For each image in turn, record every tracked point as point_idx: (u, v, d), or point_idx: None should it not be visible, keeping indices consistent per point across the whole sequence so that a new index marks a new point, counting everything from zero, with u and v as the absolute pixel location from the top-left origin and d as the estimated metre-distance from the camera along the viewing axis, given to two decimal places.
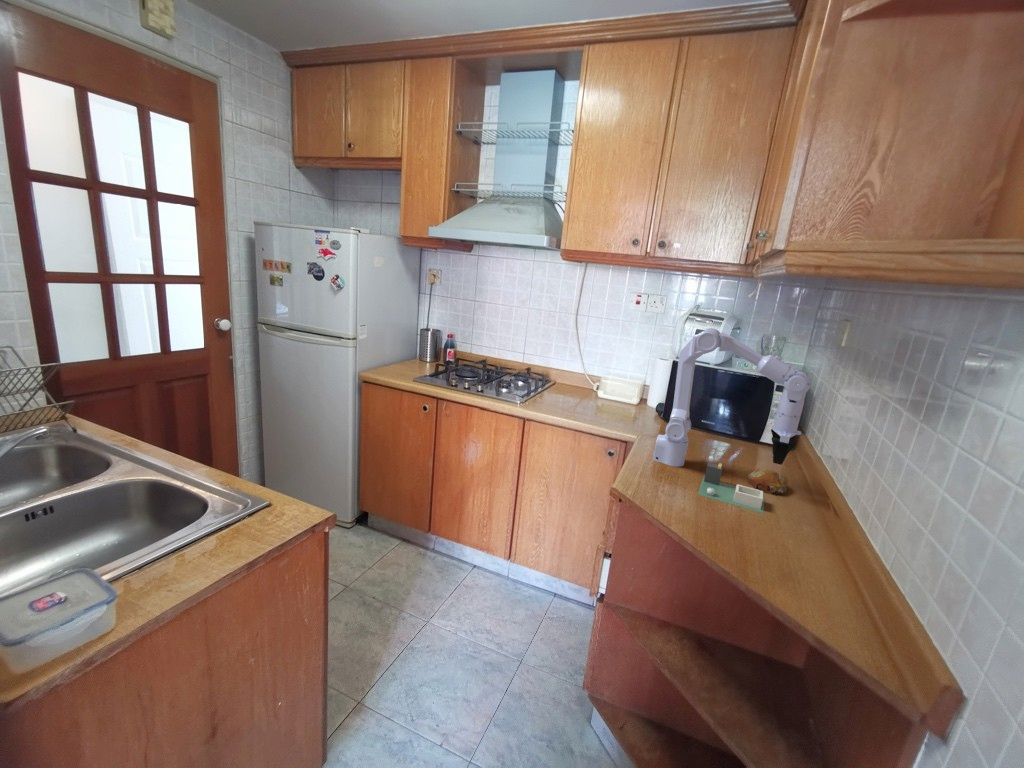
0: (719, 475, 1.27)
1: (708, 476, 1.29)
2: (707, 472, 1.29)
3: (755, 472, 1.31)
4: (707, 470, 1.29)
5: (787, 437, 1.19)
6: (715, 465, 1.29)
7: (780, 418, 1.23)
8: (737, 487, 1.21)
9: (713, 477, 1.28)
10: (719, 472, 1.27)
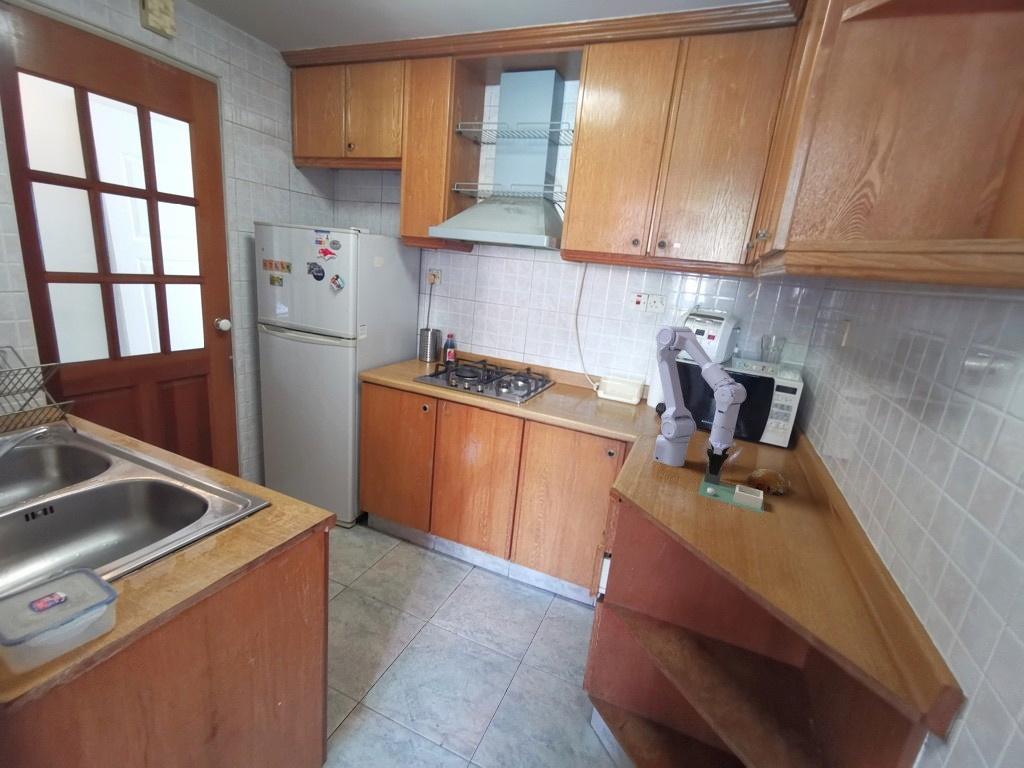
0: (719, 475, 1.27)
1: (708, 476, 1.29)
2: (707, 472, 1.29)
3: (756, 472, 1.30)
4: (707, 470, 1.29)
5: (720, 449, 1.21)
6: None
7: (715, 430, 1.25)
8: (737, 487, 1.21)
9: (713, 477, 1.28)
10: (719, 472, 1.27)
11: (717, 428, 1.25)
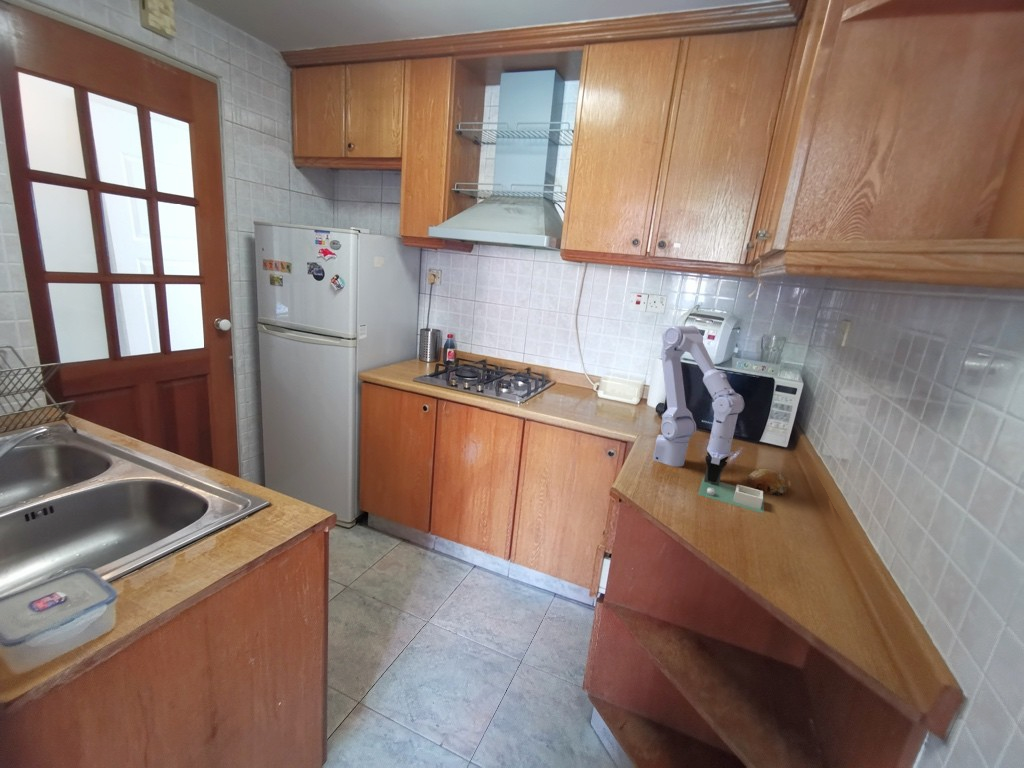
0: (719, 475, 1.27)
1: None
2: (707, 472, 1.29)
3: (756, 473, 1.30)
4: (707, 470, 1.29)
5: (717, 459, 1.21)
6: None
7: (713, 439, 1.26)
8: (737, 487, 1.21)
9: None
10: None
11: (715, 438, 1.25)
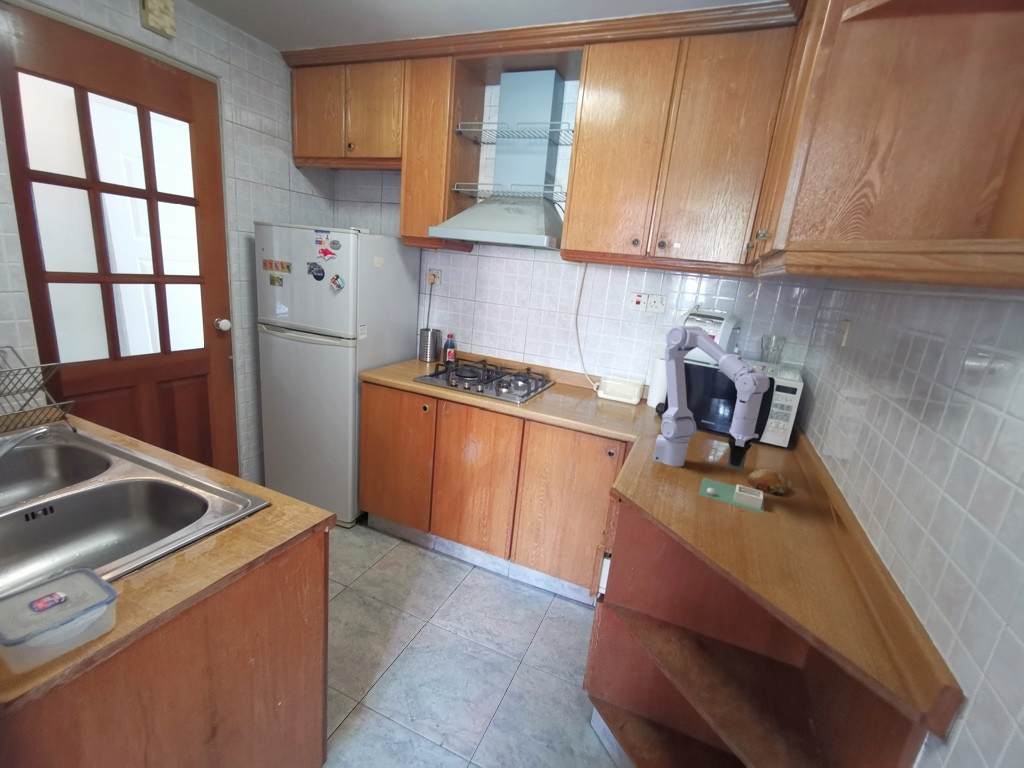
0: (743, 460, 1.20)
1: None
2: None
3: (756, 473, 1.30)
4: None
5: (742, 440, 1.14)
6: None
7: (736, 421, 1.19)
8: (737, 487, 1.21)
9: None
10: (743, 457, 1.20)
11: (738, 419, 1.18)
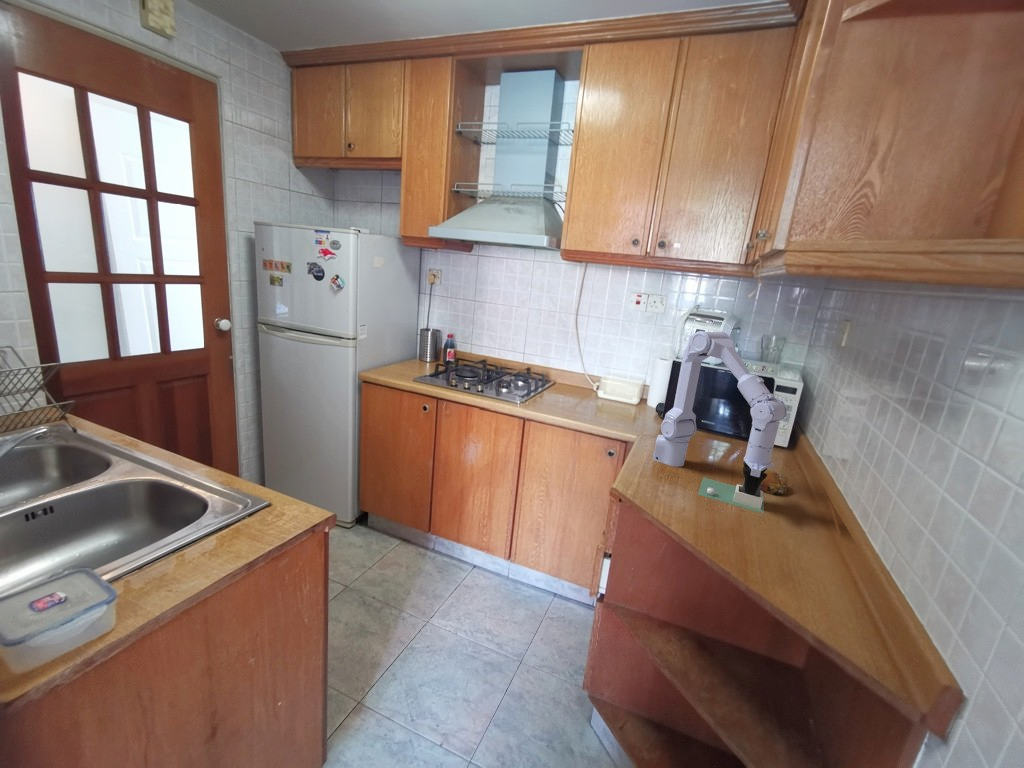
0: (758, 490, 1.17)
1: None
2: None
3: None
4: (744, 484, 1.18)
5: (758, 471, 1.11)
6: None
7: (751, 449, 1.15)
8: (737, 487, 1.21)
9: None
10: (758, 487, 1.17)
11: (754, 447, 1.14)
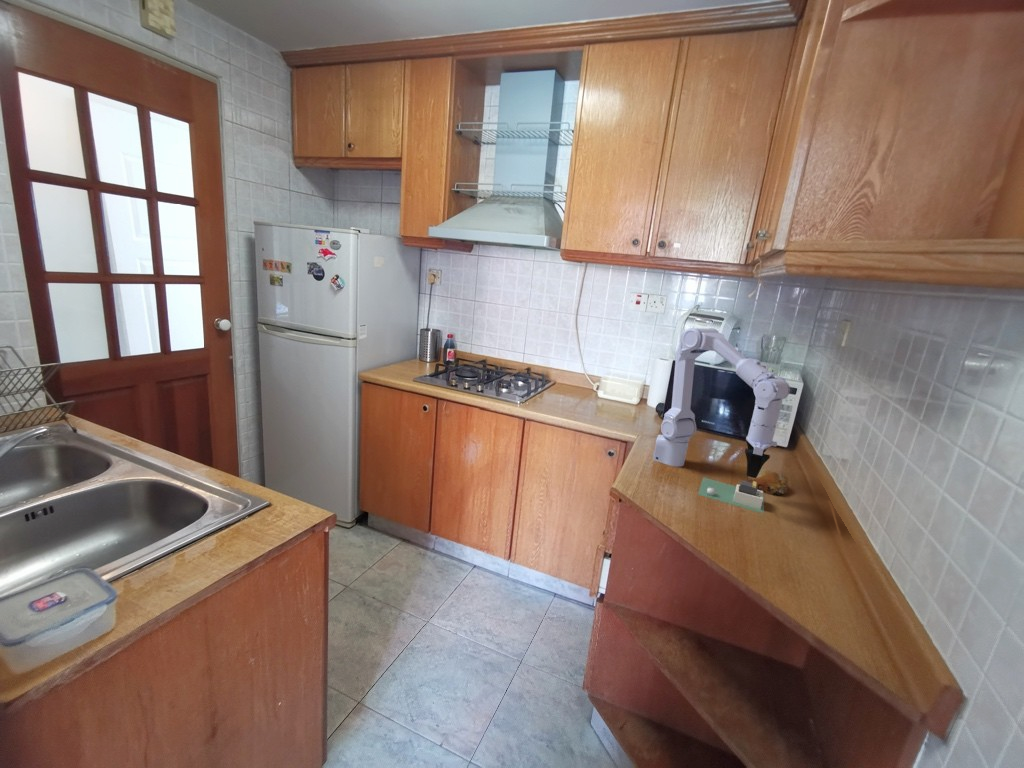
0: (754, 494, 1.17)
1: None
2: (741, 491, 1.19)
3: None
4: (740, 489, 1.19)
5: (761, 449, 1.10)
6: (749, 483, 1.19)
7: (754, 428, 1.14)
8: (737, 487, 1.21)
9: None
10: (754, 491, 1.17)
11: (756, 426, 1.14)
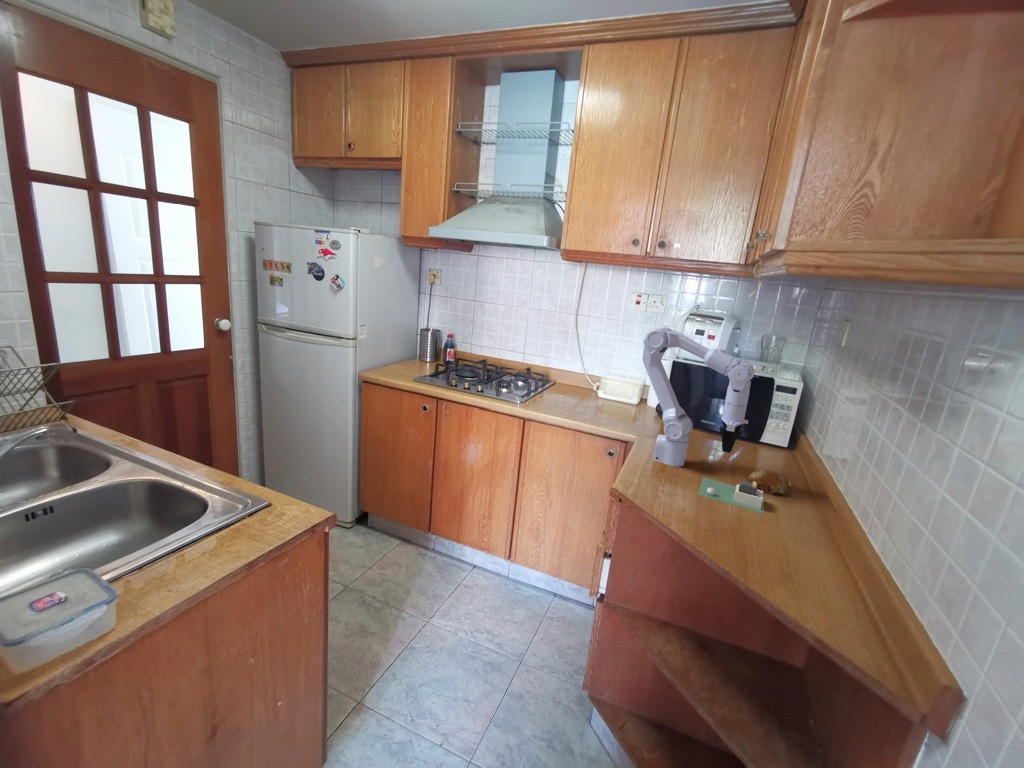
0: (754, 494, 1.17)
1: None
2: (741, 491, 1.19)
3: (756, 473, 1.30)
4: (740, 489, 1.19)
5: (733, 426, 1.23)
6: (749, 483, 1.19)
7: (727, 408, 1.28)
8: (737, 487, 1.21)
9: None
10: (754, 491, 1.17)
11: (729, 406, 1.27)
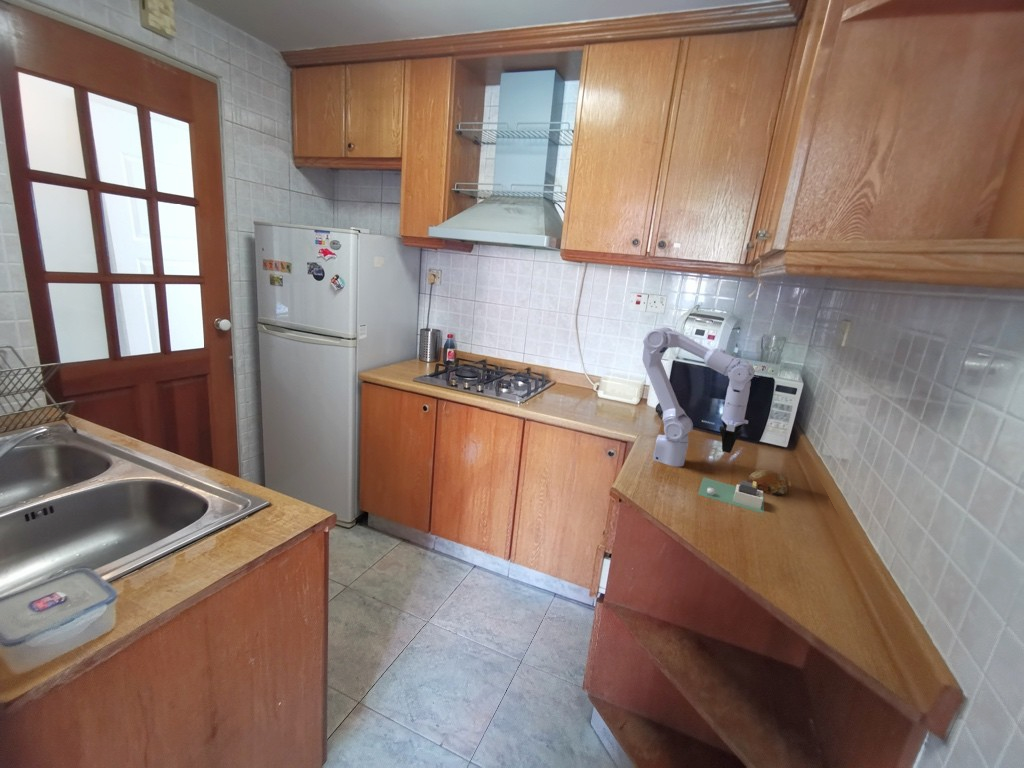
0: (754, 494, 1.17)
1: None
2: (741, 491, 1.19)
3: (756, 473, 1.30)
4: (740, 489, 1.19)
5: (733, 426, 1.23)
6: (749, 483, 1.19)
7: (727, 408, 1.28)
8: (737, 487, 1.21)
9: None
10: (754, 491, 1.17)
11: (729, 406, 1.27)
